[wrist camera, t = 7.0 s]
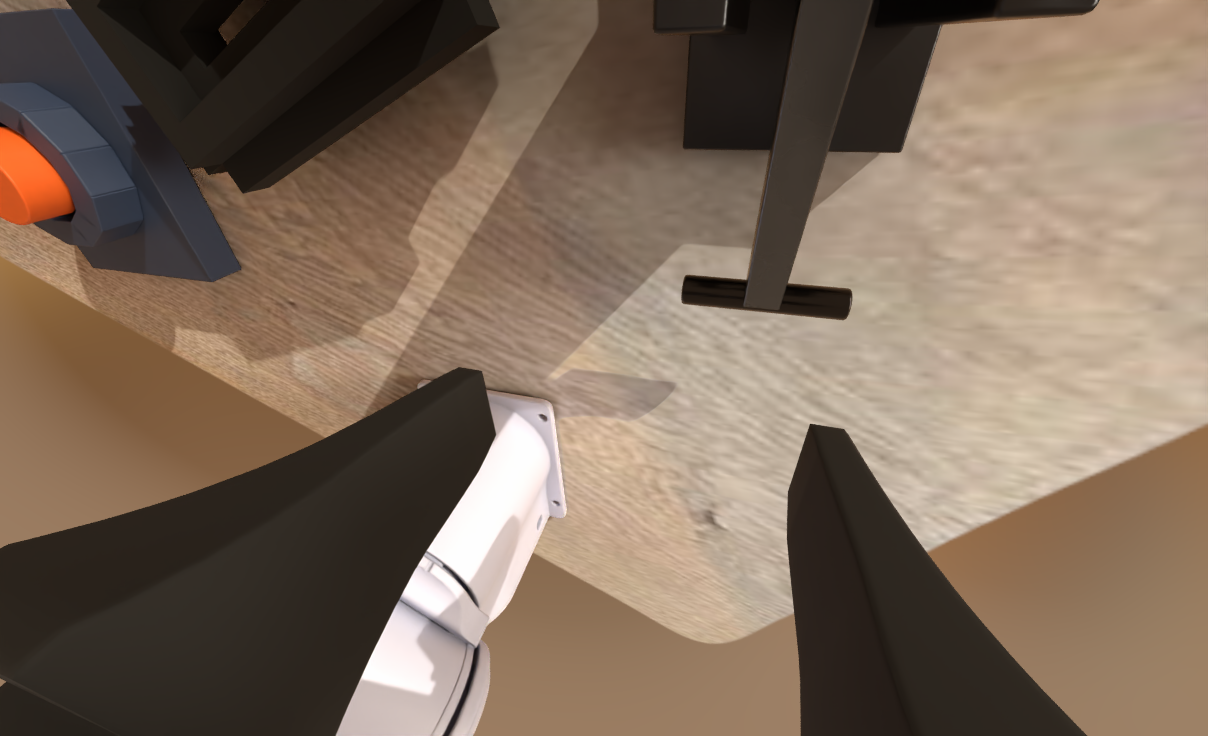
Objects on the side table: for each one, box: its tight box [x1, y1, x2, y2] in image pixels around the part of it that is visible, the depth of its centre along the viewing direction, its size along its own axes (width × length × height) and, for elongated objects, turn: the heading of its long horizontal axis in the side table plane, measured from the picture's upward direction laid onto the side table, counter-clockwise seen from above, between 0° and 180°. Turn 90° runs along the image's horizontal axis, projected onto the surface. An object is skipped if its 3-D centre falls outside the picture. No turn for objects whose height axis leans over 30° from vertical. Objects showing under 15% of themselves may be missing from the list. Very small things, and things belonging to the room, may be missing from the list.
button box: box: [0, 8, 241, 282], centre depth 21 cm, size 11×9×4 cm
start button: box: [0, 126, 75, 225], centre depth 19 cm, size 4×4×2 cm
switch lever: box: [681, 0, 874, 320], centre depth 10 cm, size 12×5×2 cm, turn 2°
